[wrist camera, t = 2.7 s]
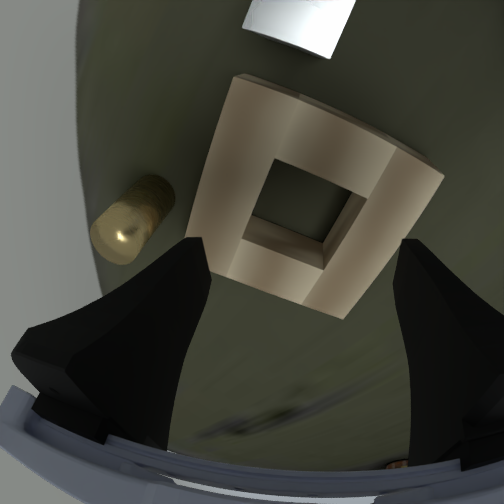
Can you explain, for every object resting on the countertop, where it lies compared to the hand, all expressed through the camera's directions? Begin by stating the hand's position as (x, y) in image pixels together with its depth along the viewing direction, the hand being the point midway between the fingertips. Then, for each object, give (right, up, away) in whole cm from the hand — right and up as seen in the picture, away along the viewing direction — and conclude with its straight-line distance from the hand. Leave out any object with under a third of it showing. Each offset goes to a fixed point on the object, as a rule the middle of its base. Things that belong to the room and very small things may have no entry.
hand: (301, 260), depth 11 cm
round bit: (-9, +4, +10) cm, 14 cm away
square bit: (+1, +13, +2) cm, 13 cm away
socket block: (+2, +4, +9) cm, 9 cm away
